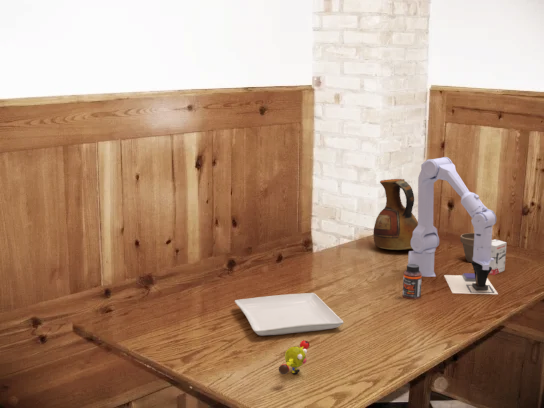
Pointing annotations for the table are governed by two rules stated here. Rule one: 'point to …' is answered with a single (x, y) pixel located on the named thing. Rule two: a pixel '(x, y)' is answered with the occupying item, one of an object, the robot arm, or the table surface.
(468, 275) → the ink pad
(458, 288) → the board
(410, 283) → the supplement bottle
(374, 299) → the table surface
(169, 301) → the table surface
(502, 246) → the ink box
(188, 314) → the table surface
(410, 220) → the ceramic pitcher
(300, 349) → the toy figure
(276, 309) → the square plate
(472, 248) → the flower pot
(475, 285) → the stamp
